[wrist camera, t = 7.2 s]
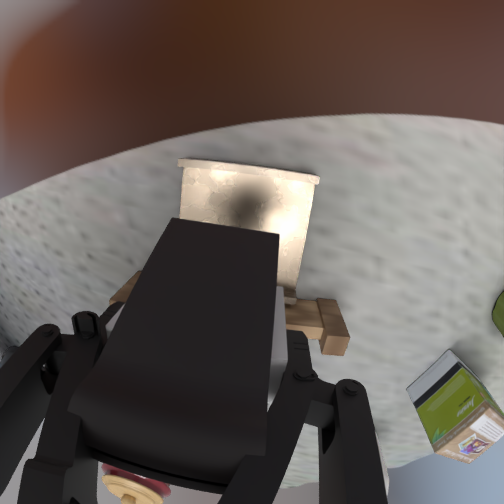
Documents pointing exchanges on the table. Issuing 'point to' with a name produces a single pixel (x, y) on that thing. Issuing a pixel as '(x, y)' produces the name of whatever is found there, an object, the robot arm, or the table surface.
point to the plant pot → (499, 314)
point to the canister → (134, 486)
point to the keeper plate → (253, 205)
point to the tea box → (456, 410)
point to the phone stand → (188, 360)
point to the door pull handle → (296, 319)
